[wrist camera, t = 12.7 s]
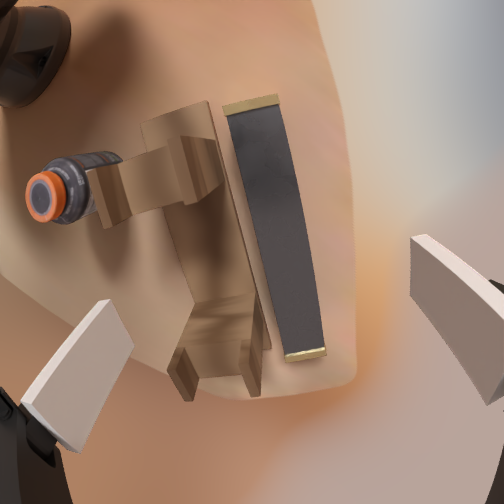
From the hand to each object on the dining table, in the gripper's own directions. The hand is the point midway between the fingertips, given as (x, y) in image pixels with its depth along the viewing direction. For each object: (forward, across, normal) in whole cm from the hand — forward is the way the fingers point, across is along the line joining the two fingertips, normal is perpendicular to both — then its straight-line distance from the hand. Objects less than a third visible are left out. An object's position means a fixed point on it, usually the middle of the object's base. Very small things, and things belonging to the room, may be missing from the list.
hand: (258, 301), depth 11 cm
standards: (+18, -6, -3) cm, 19 cm away
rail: (+18, +1, -3) cm, 18 cm away
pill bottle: (+18, -16, +7) cm, 25 cm away
